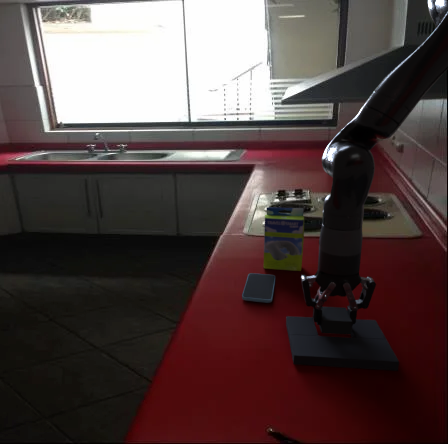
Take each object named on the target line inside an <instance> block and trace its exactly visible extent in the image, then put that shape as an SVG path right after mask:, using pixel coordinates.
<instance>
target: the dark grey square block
mask: <svg viewBox="0 0 448 444" xmlns="http://www.w3.org/2000/svg"><path fill="white" fill-rule="evenodd" d="M318 327H319V330H320V332H321V334H327V335H328V334H330V335H345V336H346V335H349V336H351V328H352V320H351V318H350V317H349V315H348V313H347V308H346V307H342V306H341V307H338V306H322V316H321V325H318Z"/></svg>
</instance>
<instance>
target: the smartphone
mask: <svg viewBox="0 0 448 444" xmlns="http://www.w3.org/2000/svg"><path fill="white" fill-rule="evenodd" d="M275 285H276V275H274V274H269V273H268V274H265V273H253V272H251V273H248V274H247V278H246V281H245V285H244V288H243V291H242V294H241V299H242V300H243V301H247V302H254V303H255V302H257V303H266V304H269V303H272V302H273V298H274V292H275Z"/></svg>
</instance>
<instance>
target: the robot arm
mask: <svg viewBox="0 0 448 444" xmlns="http://www.w3.org/2000/svg"><path fill="white" fill-rule="evenodd" d="M427 6H428V7H427V8H428V12H429V16H430V17H431V20H432V22H433V23H434V25H435V29H434V30H433V32H431V34H430V35H429V36H428V37H427V38H426V39H425V40H424V41H423V42H422V43H421V44H420V45H419V46H418V47H417V48H416V49H415V50H414V51H413V52H411V53H410V54H409V55H408V56H407V57H406V58H405V59H404V60H402V61H401V62H400V63H399V64H398V65H397V66H396V67H395V68H393V69H392V70H391V71H390V72H389V73H388V74H387V75H386V76H385V77H384V78H383V79H382V80H381V82H380V83H379V84H378V85H377V87H376V88H375V89H374V90H373V92H372V93H371V94H370V96H369V98H368V99H367V100H366V101H365V103H364V104H363V105H362V107H361V108H360V110H359V112H358V113H357V114H356V115H355V117H354V118H353V119H352V120H351V121H349V122H348V123H347V124H346V125H345V126H344V127H343V128H342V129H341V130H340V131H339V132H338V133H337V134H336V135H335V136H334V137H333V139H331V141H330V142H329V143H328V145H327V146H326V148H325V149H324V151H323V154H322V157H321V166H322V169H323V171H324V172H325V173H326V174H327V175H328V176H330V177H331V178H332V183H331V190H330V193H329V194H327V195H326V196H325V198H324V200H323V204H322V205H323V206H322V220H321V227H320V232H319V239H318V258H317V270H316V272H315V273H314V275H308V276H307V274H301V276H300V281H301V287H302V293H303V300H304V303H305V305H306V306H307V307H312V317H313V319H314V323H315V324H316V325H317V326H319V325H321V316H322V307H324V304H325V302H327V301H328V299H329V298H330V297H336V296H337V297H343V298H344V297H346V299H347V302H348V305H347V308H346V310H347V313H348V315H349V317H350V318H351V320H352V326H353V324H355V323H356V319H357V316H358V311H359V310H361V309H363V310H367V309H368V308H369V306H370V304H371V300H372V298H373V295H374V292H375V289H376V286H377V283H376V282H375V280H374V279H373V278H372V276H367V277H364V276H361V274H360V269H361V259H362V249H363V240H364V239H363V222H364V214H365V213H364V212H365V204H366V201H367V198H368V196H369V193H370V190H371V186H372V184H373V180H374V176H375V170H376V169H375V168H376V165H375V164H376V163H375V159H374V154H373V153H372V152H371V150H372V149H373V148H374V147H375V146H376V145H377V144H378V143H379V142H382V141H385V140H389V139H390V138H391V137H393V135H395V133H396V132H397V131H398V130H399V129H400V127H402V124H403V123H404V122H405V121H406V120H407V118H408V117H409V116H410V114H411V113H412V112H413V111H414V109H415V108H416V106H417V105H418V104H419V102H420V101H421V100H422V98H423V97H424V96H425V95H426V94H427V93H428V92H429V91H430V89H431V88H432V87H433V86H434V84H436V82H437V81H438V80H439V79H440V78H441V77H442V76H443V75H444V73H446V71H448V0H427ZM314 283H316V284H317V285H318V286H319V288H318V289H317V293H316V295H315V296H314V298H313V297H312V295H311V294H312V293H311V288H313V286H314ZM359 285H360V286H361V287H362V288H361V292H360V295H359V297H358V299H356V297H355V295H354V292H353V291H354V290H355V289H356V288H357V287H358V286H359Z"/></svg>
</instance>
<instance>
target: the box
mask: <svg viewBox="0 0 448 444" xmlns="http://www.w3.org/2000/svg"><path fill="white" fill-rule="evenodd" d="M284 210H285V211H287V212H280V211H284ZM304 212H305V208H304V207H303V208H302V207H274V206H273V207H272V206H271V207H266V214H264V229H263V230H264V234H263V235H264V237H263V242H264V243H263V264H262V265H263V266H262V267H263V269H264V270H265V269H267V270H281V271H291V272H292V271H293V272H302V268H303V267H302V265H303V255H304V254H303V253H304V241H305V215H304Z"/></svg>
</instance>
